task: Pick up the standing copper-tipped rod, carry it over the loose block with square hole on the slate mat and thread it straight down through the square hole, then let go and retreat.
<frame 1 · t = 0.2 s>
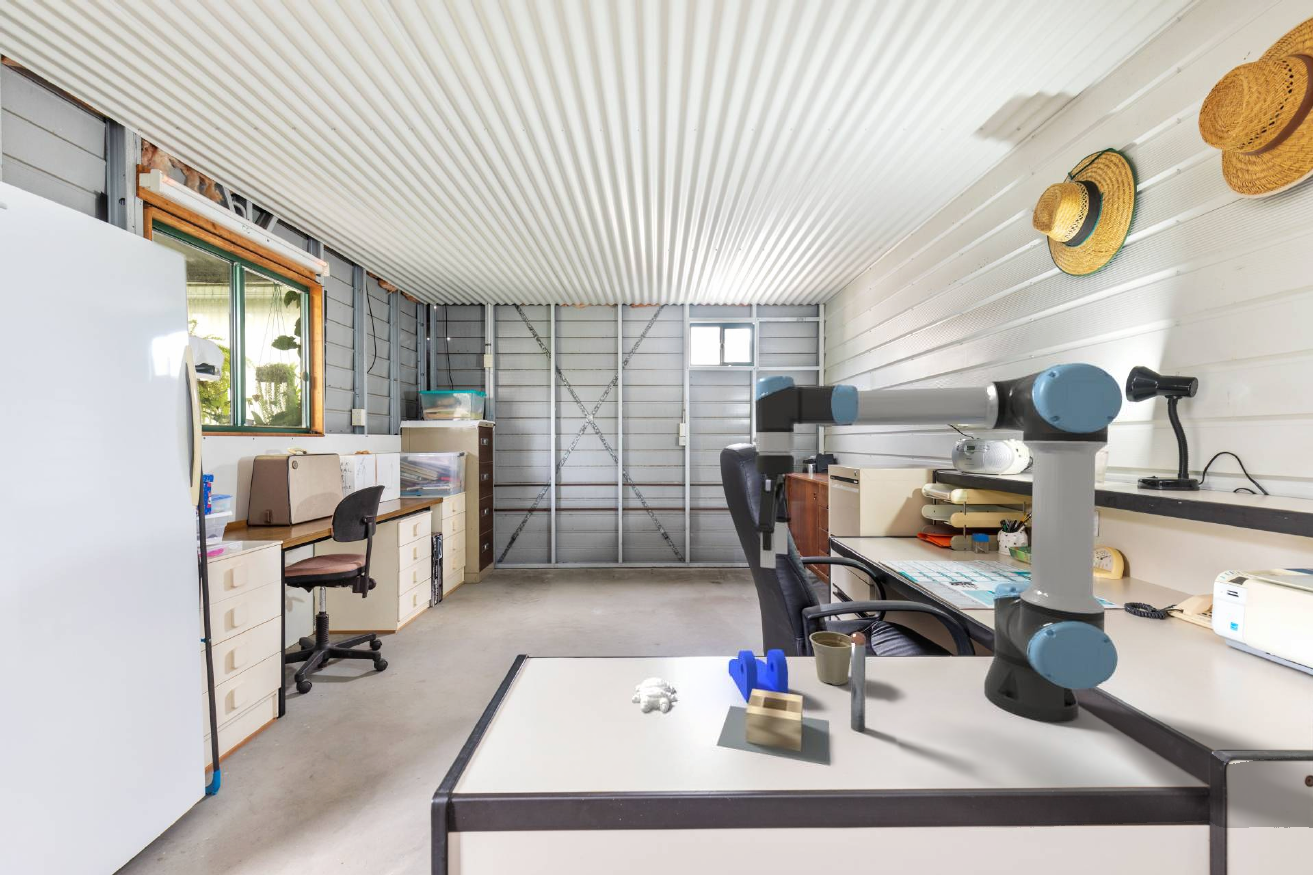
hand: (774, 560, 106), 28 cm above the table, fingers open, 13 cm apart
copper-tipped rod: (858, 729, 94), on the table
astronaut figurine: (654, 701, 106), on the table
bracket: (753, 684, 113), on the table
mat: (775, 734, 93), on the table
block with square hole: (775, 732, 93), resting on mat
flower pot: (832, 680, 115), on the table
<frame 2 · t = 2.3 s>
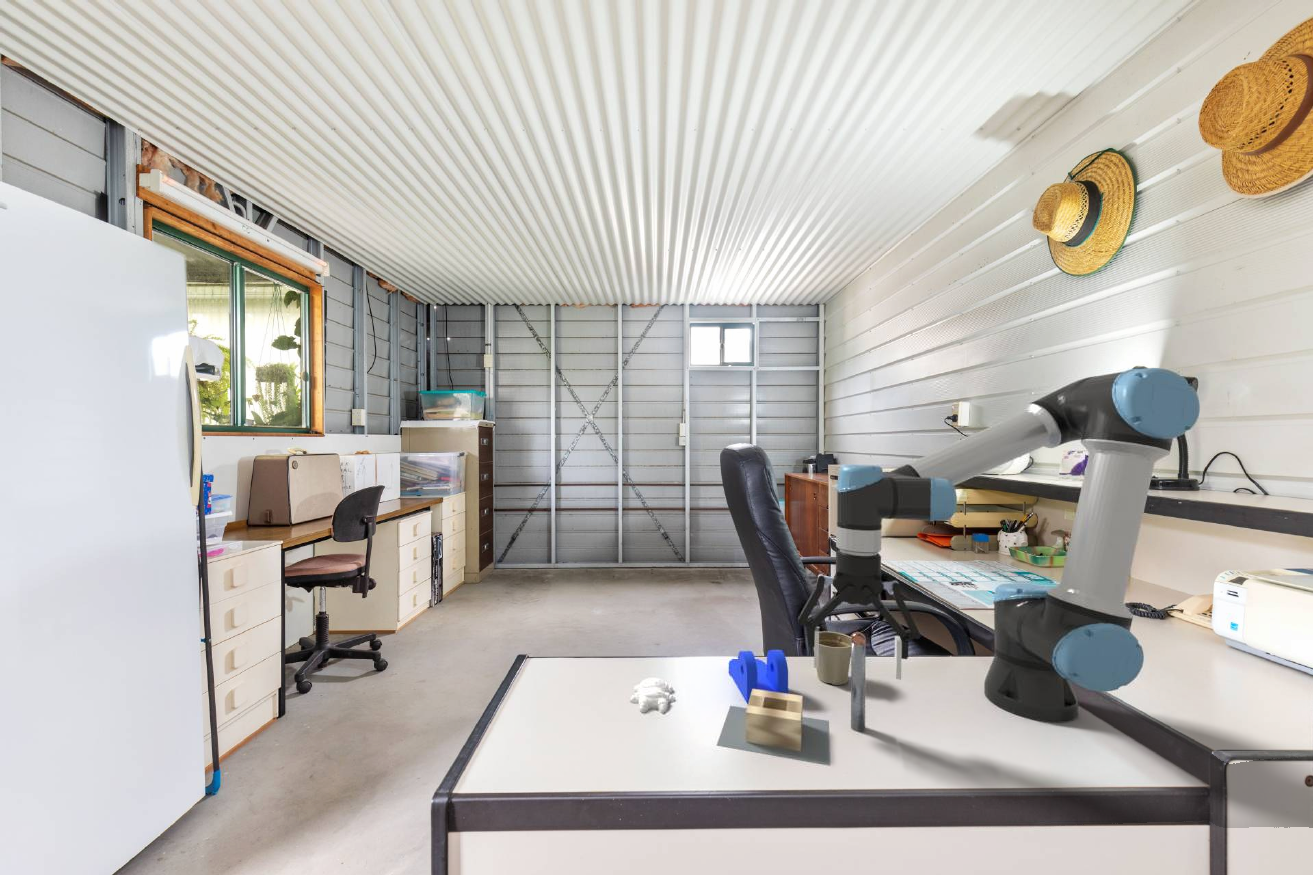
hand: (856, 670, 94), 10 cm above the table, fingers open, 13 cm apart
nothing on the table moved.
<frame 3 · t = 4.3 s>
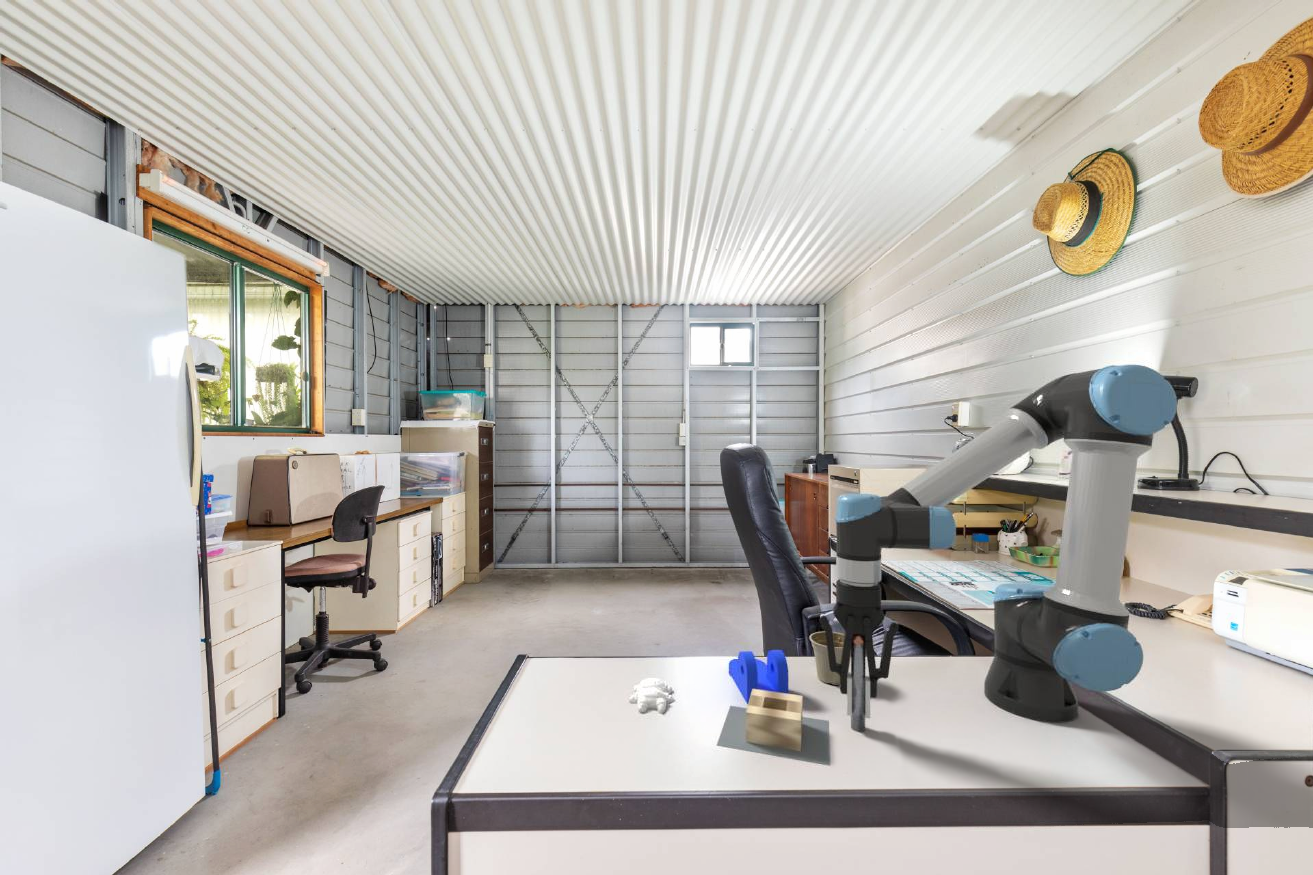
hand: (858, 712, 94), 3 cm above the table, fingers closed on copper-tipped rod, 2 cm apart
copper-tipped rod: (858, 729, 94), on the table, touching gripper
everything else where it was.
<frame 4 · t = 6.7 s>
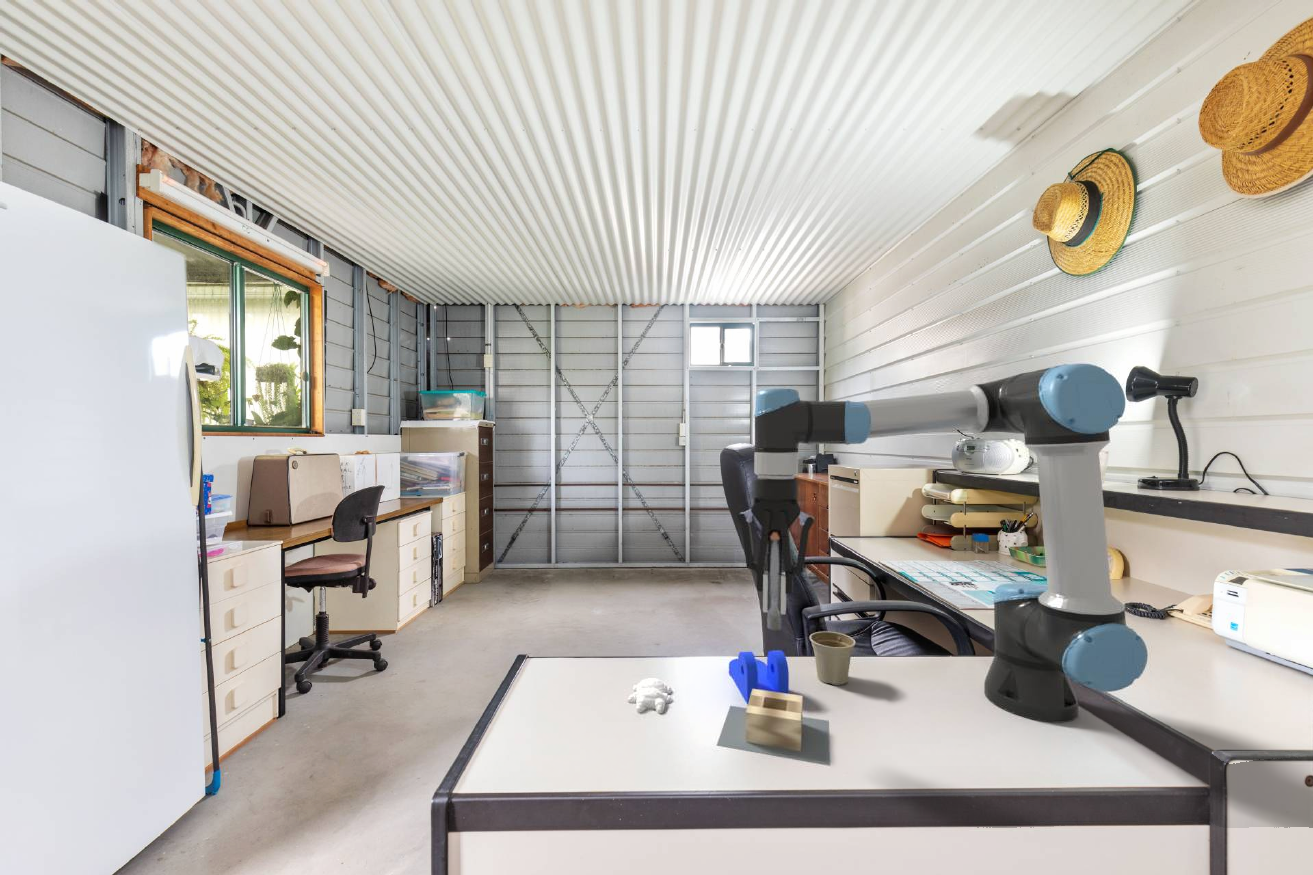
hand: (774, 610, 93), 22 cm above the table, fingers closed on copper-tipped rod, 2 cm apart
copper-tipped rod: (774, 627, 93), point 19 cm above the table, touching gripper
everything else where it was.
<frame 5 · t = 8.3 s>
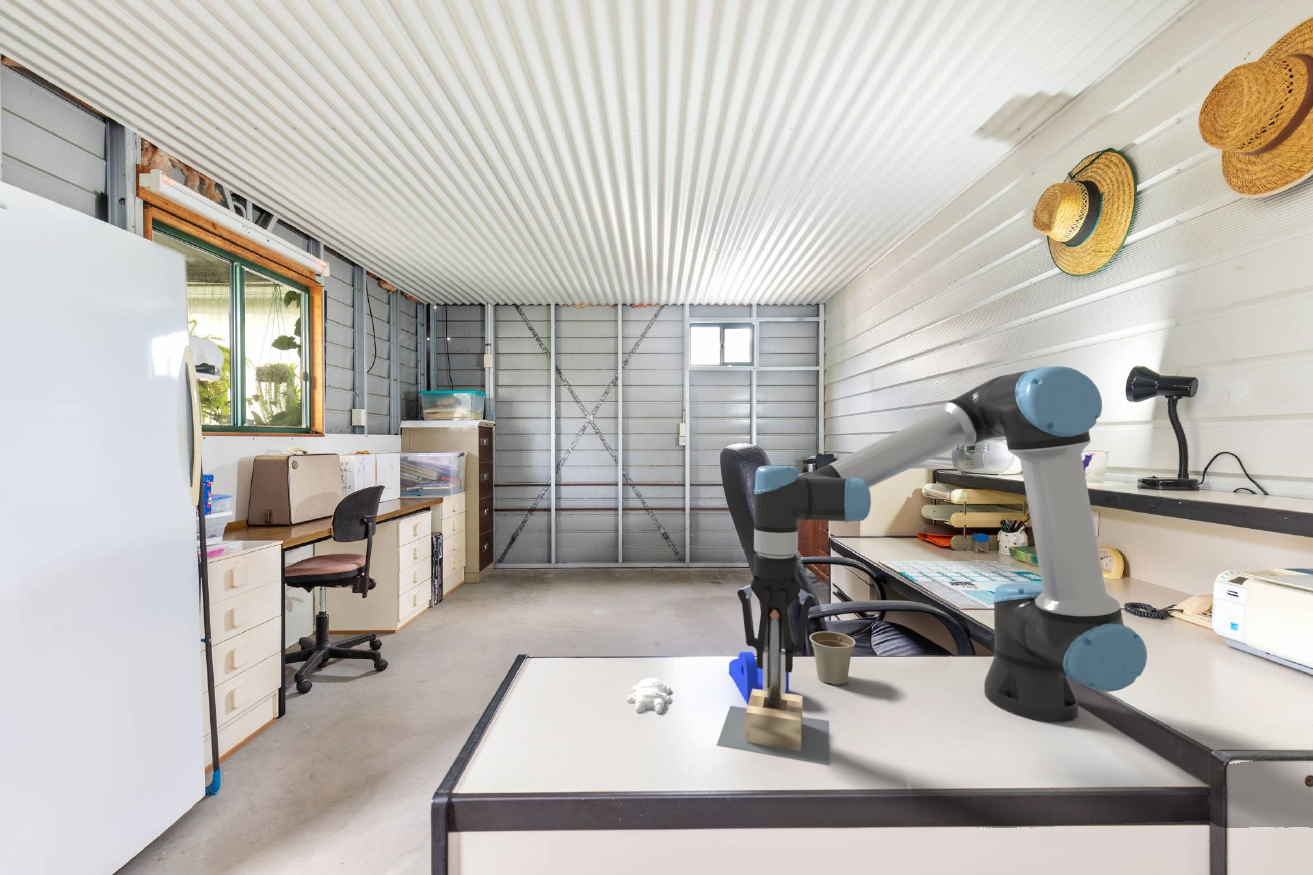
hand: (774, 687, 93), 8 cm above the table, fingers closed on copper-tipped rod, 2 cm apart
copper-tipped rod: (774, 704, 93), point 5 cm above the table, touching gripper
everything else where it was.
when the fingers open (6 cm above the table, at t = 9.5 s): copper-tipped rod drops 2 cm, resting on mat.
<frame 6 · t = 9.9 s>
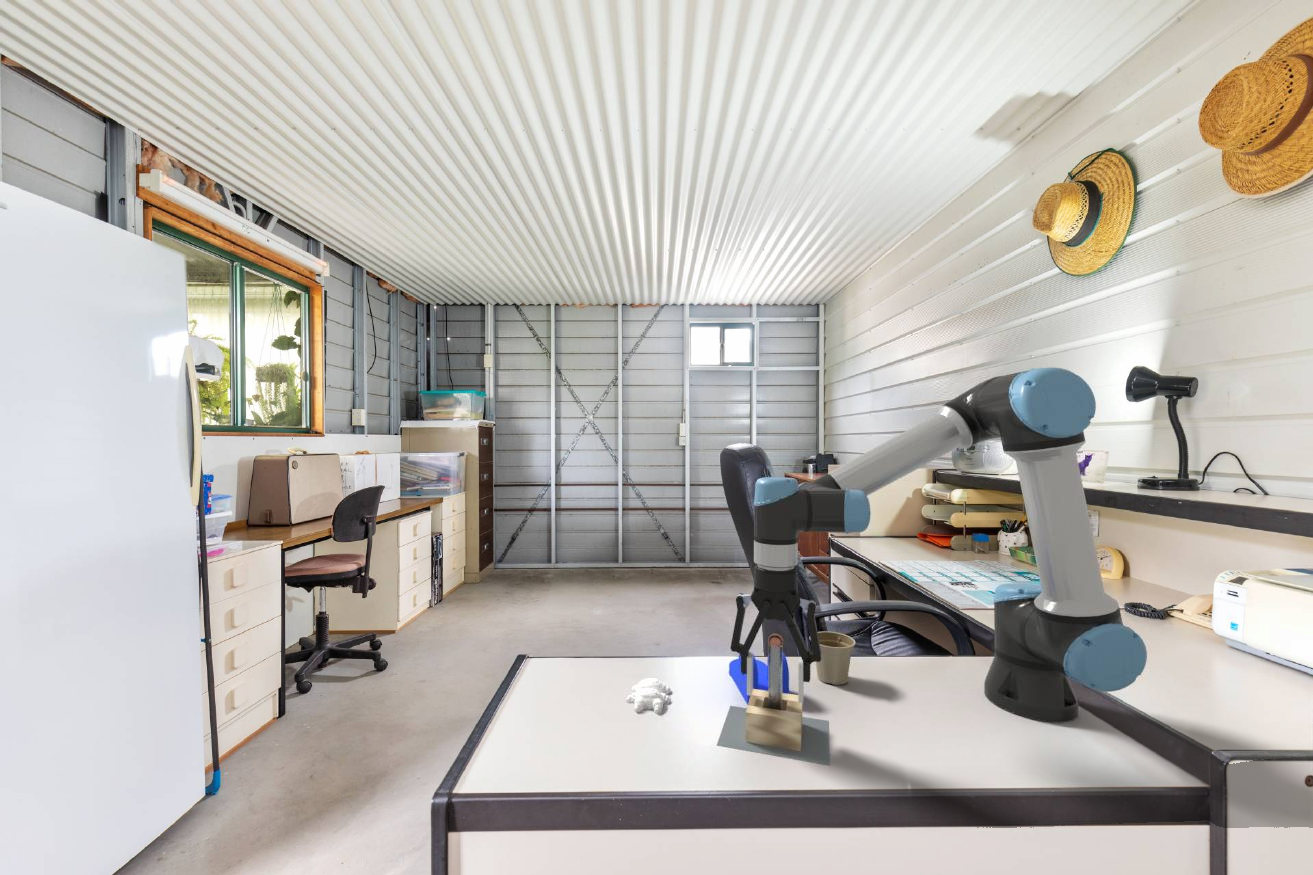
hand: (775, 695, 93), 7 cm above the table, fingers open, 8 cm apart
copper-tipped rod: (775, 732, 93), resting on mat
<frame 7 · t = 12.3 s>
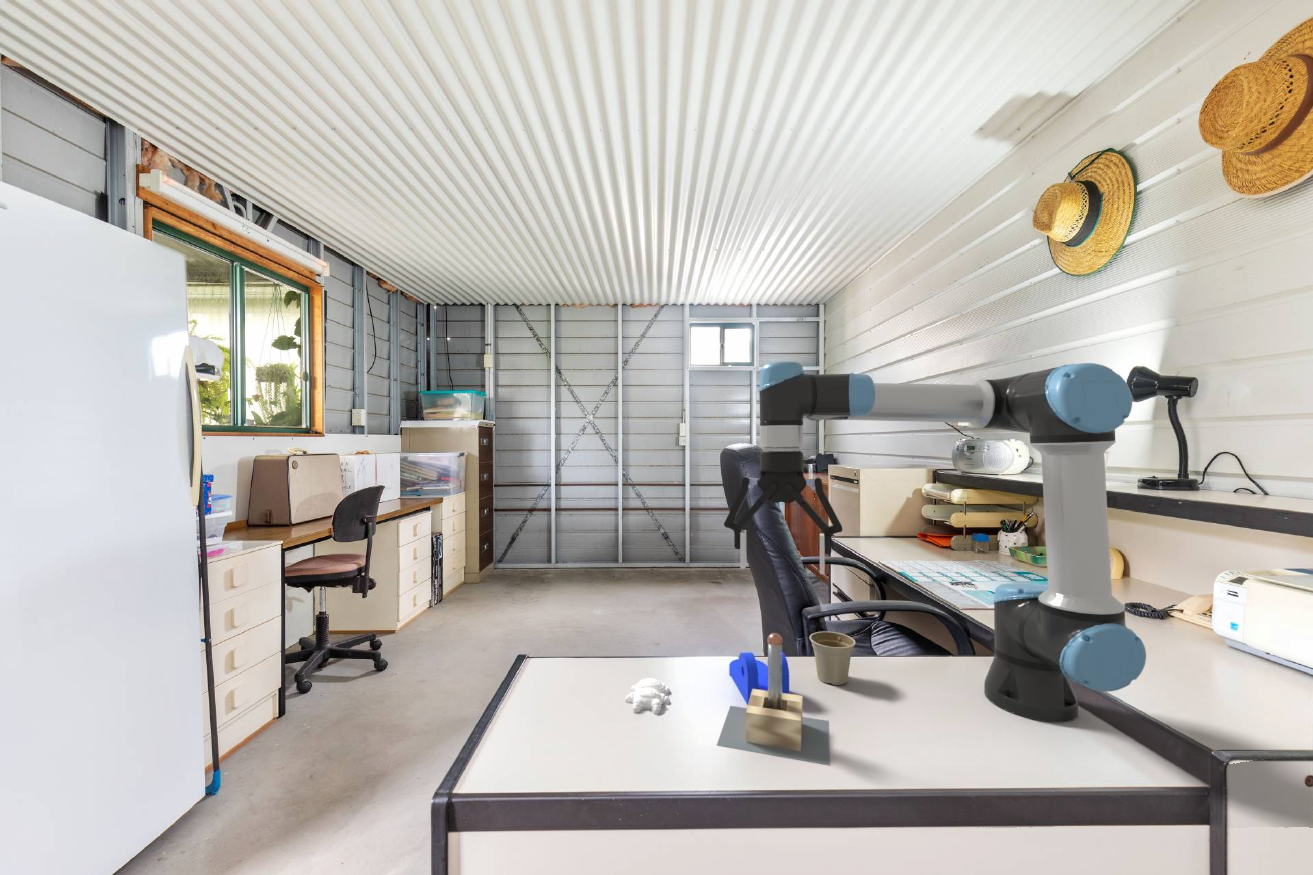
hand: (782, 570, 94), 28 cm above the table, fingers open, 13 cm apart
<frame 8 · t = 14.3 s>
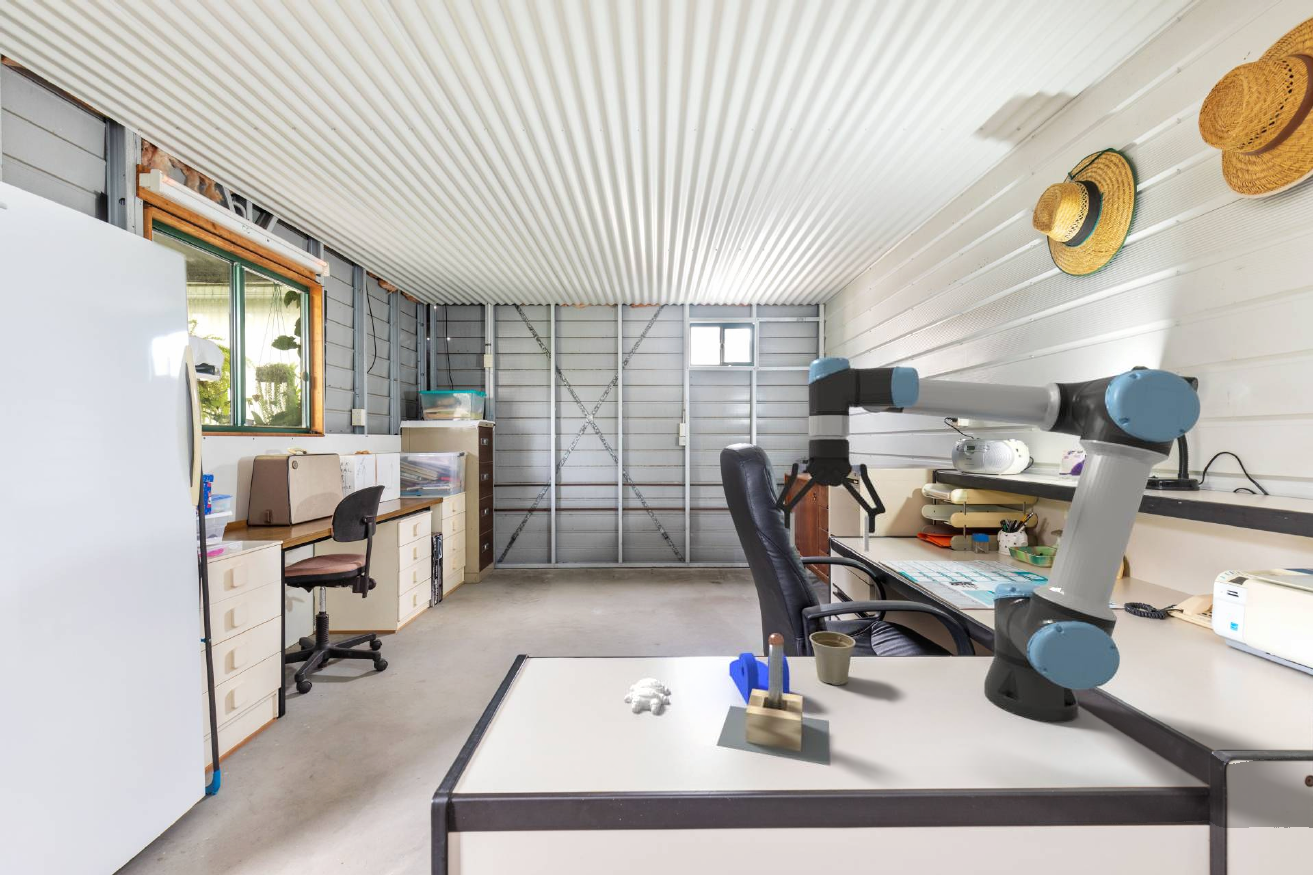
hand: (828, 547, 103), 31 cm above the table, fingers open, 13 cm apart
at the end: copper-tipped rod 0.0 cm off-centre on the block with square hole, point 0.0 cm above the block with square hole's base; copper-tipped rod tilted 1°; the gripper is holding nothing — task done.
